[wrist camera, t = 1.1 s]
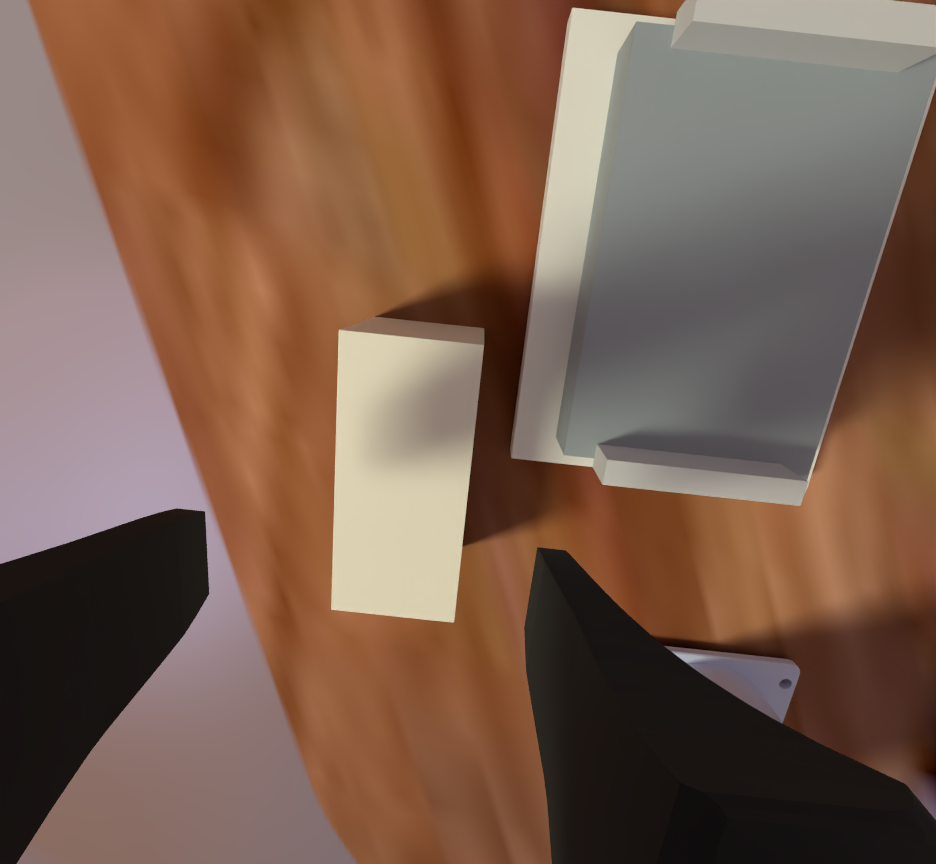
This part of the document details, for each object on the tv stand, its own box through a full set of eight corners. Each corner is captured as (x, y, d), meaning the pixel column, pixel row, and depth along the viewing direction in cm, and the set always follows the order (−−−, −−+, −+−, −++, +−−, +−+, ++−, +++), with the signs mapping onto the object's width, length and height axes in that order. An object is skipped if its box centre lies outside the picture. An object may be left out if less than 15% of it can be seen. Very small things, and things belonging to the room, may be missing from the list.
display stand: (791, 479, 20) (875, 535, 16) (510, 449, 20) (516, 496, 16) (920, 62, 16) (1081, -18, 12) (567, 24, 16) (597, -70, 12)
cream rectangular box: (460, 545, 21) (453, 622, 17) (365, 535, 21) (331, 609, 17) (484, 327, 19) (484, 345, 14) (375, 316, 19) (338, 329, 14)
